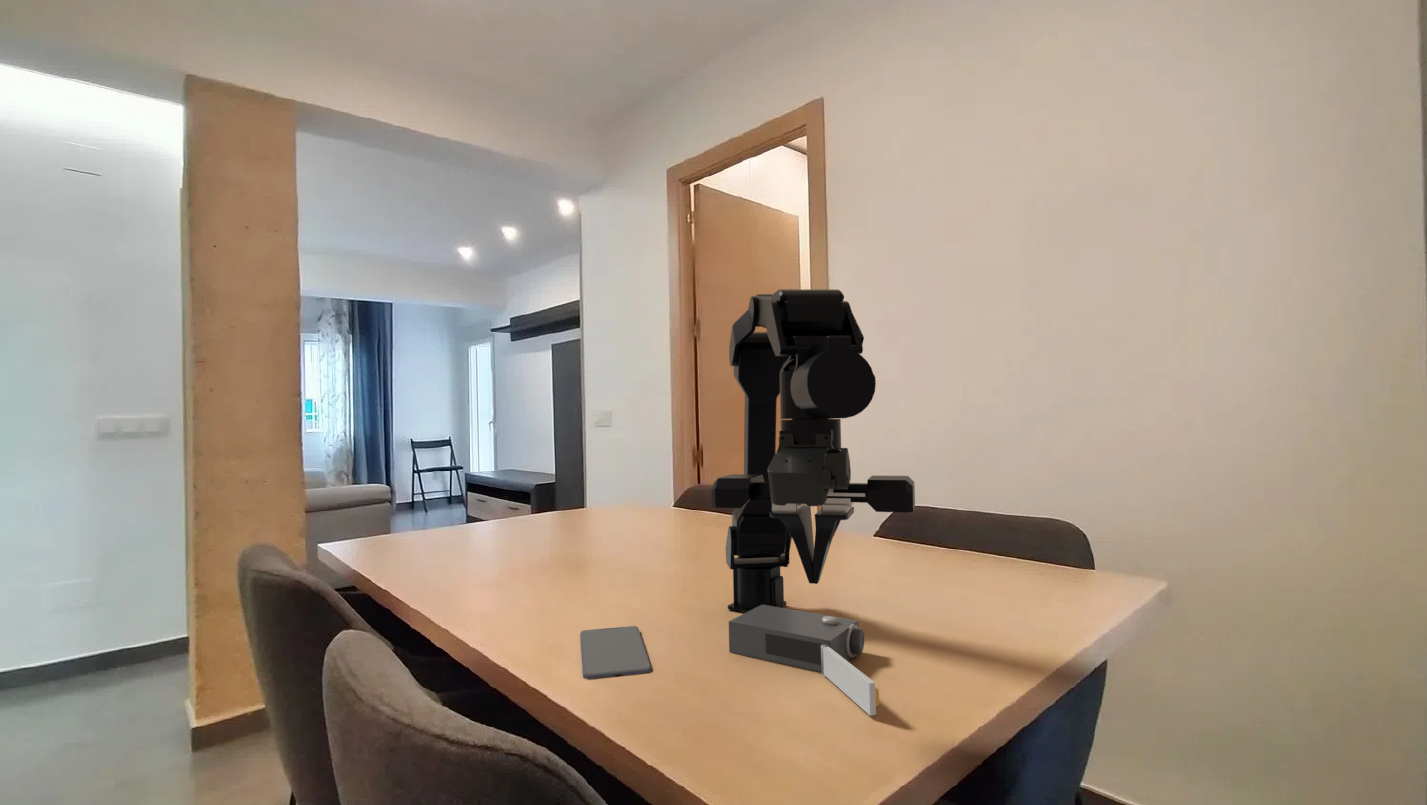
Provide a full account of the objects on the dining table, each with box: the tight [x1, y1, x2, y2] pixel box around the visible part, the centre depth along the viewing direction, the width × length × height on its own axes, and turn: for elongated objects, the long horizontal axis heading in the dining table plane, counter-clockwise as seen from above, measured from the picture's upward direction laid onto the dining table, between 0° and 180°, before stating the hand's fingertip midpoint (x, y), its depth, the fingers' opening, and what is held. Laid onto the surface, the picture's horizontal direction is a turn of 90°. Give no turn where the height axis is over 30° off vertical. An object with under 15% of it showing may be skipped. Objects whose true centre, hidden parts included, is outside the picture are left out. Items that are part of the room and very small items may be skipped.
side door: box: [820, 644, 880, 717], centre depth 64 cm, size 11×1×3 cm, turn 15°
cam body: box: [728, 605, 865, 673], centre depth 76 cm, size 14×8×4 cm, turn 56°
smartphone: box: [579, 625, 653, 680], centre depth 77 cm, size 8×1×15 cm
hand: (814, 582), depth 62 cm, fingers closed
